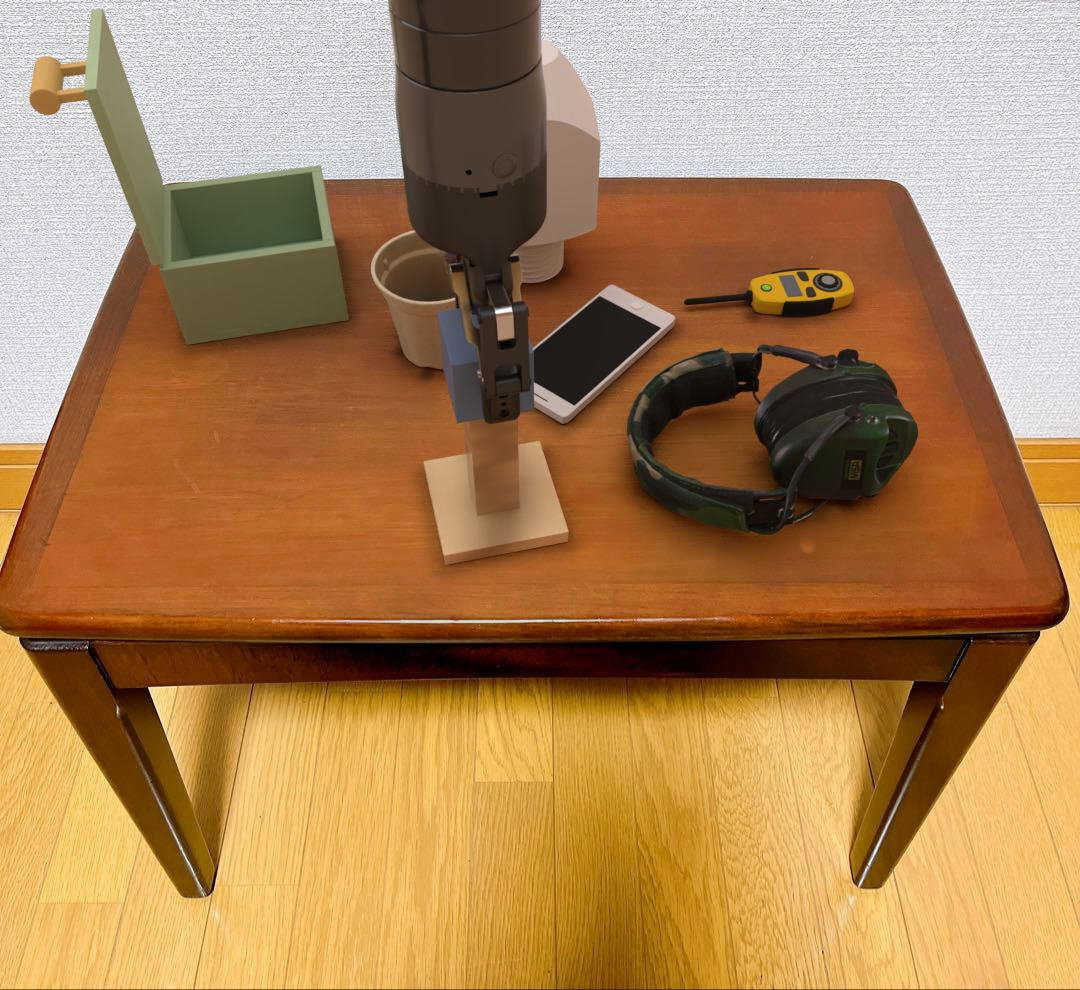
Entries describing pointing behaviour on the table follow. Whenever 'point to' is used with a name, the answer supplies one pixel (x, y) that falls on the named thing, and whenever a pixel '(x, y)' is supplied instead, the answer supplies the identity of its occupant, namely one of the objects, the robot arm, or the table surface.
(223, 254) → the chest
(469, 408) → the block
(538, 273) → the light fixture
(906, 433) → the headphones
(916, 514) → the table surface
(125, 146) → the lid
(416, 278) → the flower pot
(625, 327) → the smartphone
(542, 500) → the post
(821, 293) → the yellow walkie talkie
